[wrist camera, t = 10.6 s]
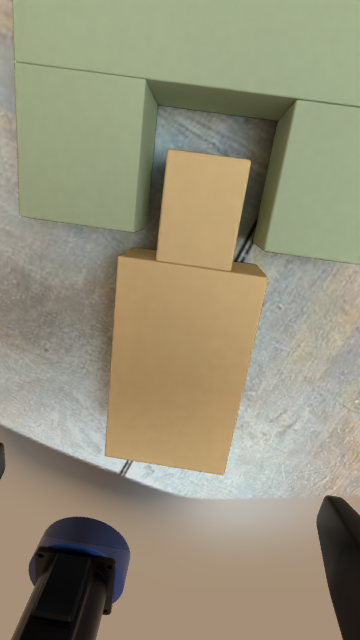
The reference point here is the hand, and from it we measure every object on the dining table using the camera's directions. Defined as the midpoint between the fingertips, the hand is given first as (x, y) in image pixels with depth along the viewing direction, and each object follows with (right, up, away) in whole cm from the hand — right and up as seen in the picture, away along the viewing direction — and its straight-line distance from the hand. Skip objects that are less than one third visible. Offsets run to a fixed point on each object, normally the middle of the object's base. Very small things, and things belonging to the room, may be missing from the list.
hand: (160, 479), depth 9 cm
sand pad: (+1, +5, +8) cm, 9 cm away
